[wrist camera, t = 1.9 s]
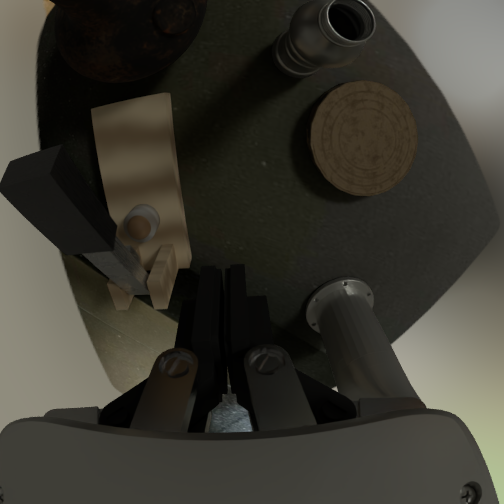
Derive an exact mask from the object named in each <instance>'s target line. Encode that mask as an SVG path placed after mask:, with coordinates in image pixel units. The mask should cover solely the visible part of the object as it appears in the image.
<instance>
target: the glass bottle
mask: <svg viewBox="0 0 504 504" xmlns="http://www.w3.org/2000/svg"><path fill="white" fill-rule="evenodd" d="M50 1H51V2H53V3H54V4H56V5H57V6H58V9H57V12H56V16H55V38H56V43H57V46H58V49H59V52H60V54H61V55H62V57H63V58H64V60H65V61H66V62H67V63H68V65H69V66H70V67H71V68H73V69H74V70H75V71H76V72H78V73H80V74H81V75H83V76H85V77H87V78H90V79H93V80H97V81H100V82H108V83H123V82H130V81H135V80H139V79H142V78H145V77H148V76H151V75H153V74H155V73H157V72H159V71H161V70H162V69H164V68H166V67H167V66H169V65H170V64H171V63H173V62H174V61H175V60H177V59H178V58H179V57H180V56H181V55H182V54H183V53H184V52H185V51H186V50H187V48H188V47H189V46H190V45H191V43H192V42H193V40H194V39H195V37H196V35H197V34H198V32H199V29H200V27H201V25H202V22H203V19H204V16H205V11H206V6H207V0H50Z"/></svg>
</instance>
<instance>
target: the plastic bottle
mask: <svg viewBox="0 0 504 504" xmlns="http://www.w3.org/2000/svg"><path fill="white" fill-rule="evenodd" d="M375 28H376V21H375V17H374V15H373V13H372V11H371V9H370V8H369V7H368V6H367V5H366V4H365V3H364V2H362V1H361V0H312V1H309V2H307V3H305V4H303V5H302V6H301V7H299V8H298V9H297V11H296V12H295V13H294V15H293V17H292V20H291V22H290V27H289V29H288V30H286V31H284V32H282V33H281V34H280V35H278V36H277V38H276V39H275V41H274V43H273V45H272V58H273V61H274V63H275V65H276V66H277V68H278V69H279V70H280V71H281V72H283V73H284V74H286V75H288V76H290V77H294V78H306V77H309V76H312V75H314V74H315V73H317V72H318V71H319V70H320V69H321V68H337V67H343V66H346V65H348V64H350V63H351V62H353V61H354V60H355V59H356V58H357V57H358V56H359V54H360V53H361V51H362V50H363V47H364V45H365V41H367V40H368V39H369V38H370V37H372V35H373V34H374V31H375Z"/></svg>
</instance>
